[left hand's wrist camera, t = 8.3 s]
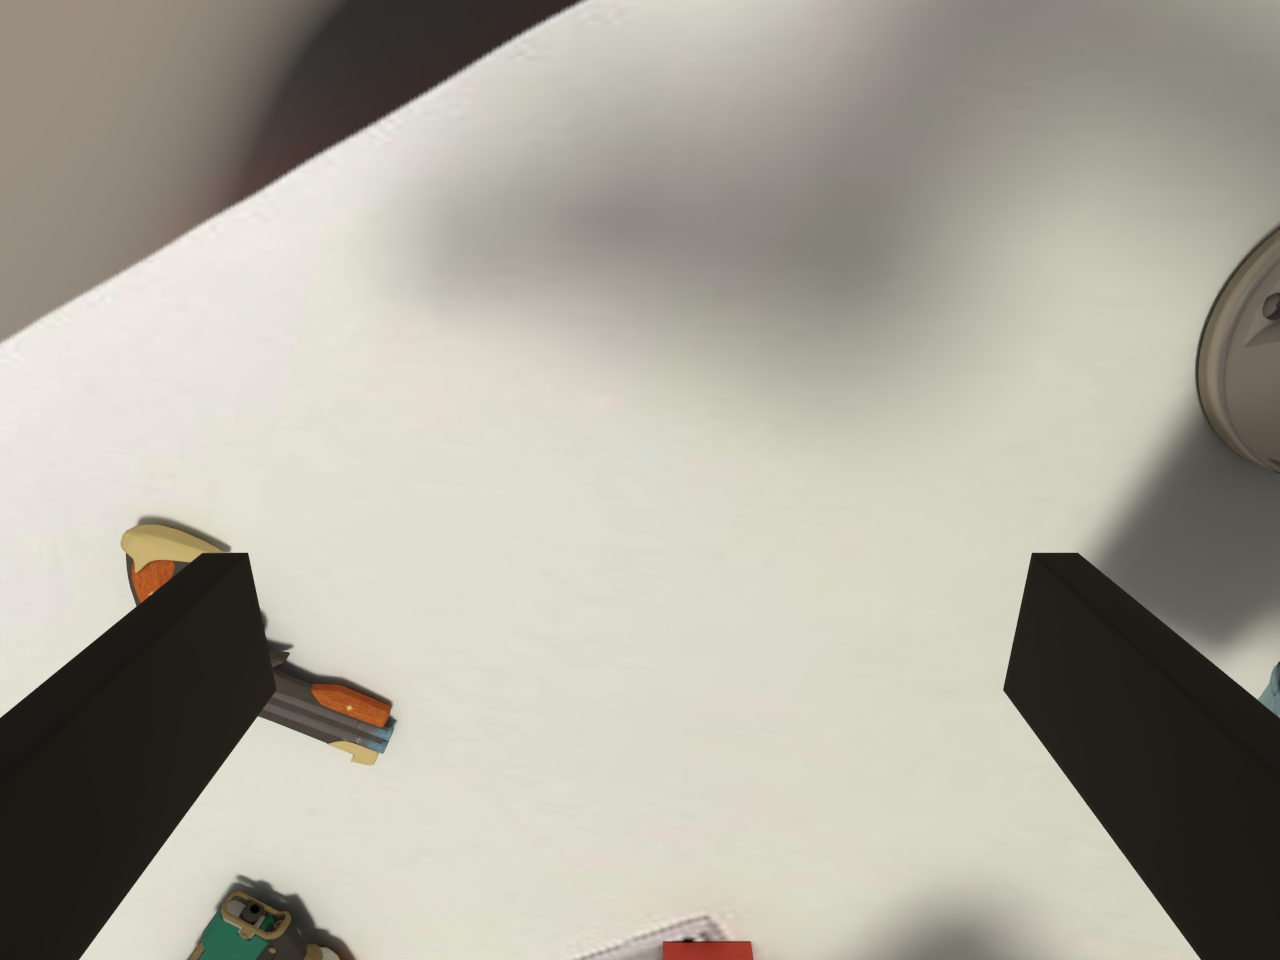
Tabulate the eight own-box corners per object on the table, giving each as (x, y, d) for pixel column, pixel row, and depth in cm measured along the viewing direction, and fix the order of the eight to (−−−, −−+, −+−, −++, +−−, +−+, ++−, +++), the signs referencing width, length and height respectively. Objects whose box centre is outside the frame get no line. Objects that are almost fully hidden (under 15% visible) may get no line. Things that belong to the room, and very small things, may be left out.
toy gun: (119, 524, 41) (59, 667, 43) (438, 655, 46) (370, 779, 48) (144, 508, 44) (86, 644, 46) (444, 634, 48) (379, 752, 50)
